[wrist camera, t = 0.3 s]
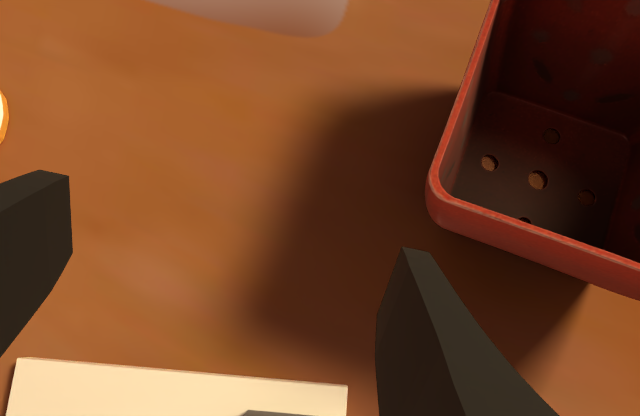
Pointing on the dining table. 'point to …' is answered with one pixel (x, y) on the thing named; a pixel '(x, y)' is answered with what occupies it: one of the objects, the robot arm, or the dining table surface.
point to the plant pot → (536, 154)
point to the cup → (3, 116)
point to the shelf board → (159, 392)
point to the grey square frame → (269, 413)
